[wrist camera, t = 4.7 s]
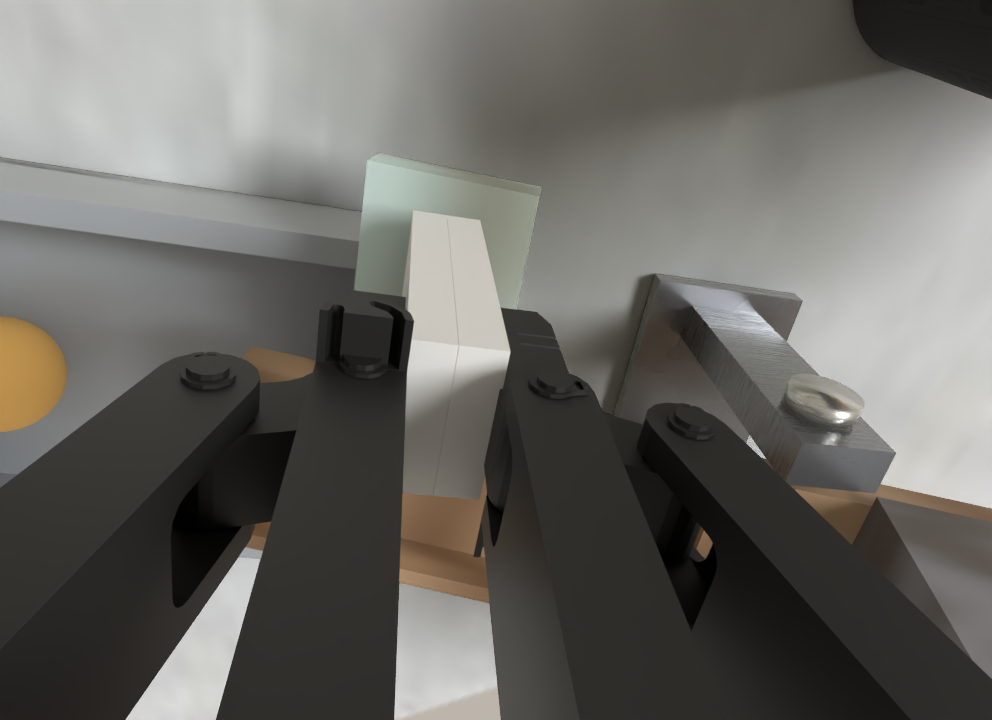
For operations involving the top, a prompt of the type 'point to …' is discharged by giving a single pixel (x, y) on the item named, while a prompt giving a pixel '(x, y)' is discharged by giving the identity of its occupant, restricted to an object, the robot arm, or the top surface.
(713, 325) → the stand
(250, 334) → the dish
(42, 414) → the ball
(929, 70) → the drinking cup
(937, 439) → the top surface
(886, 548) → the lever
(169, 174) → the top surface
